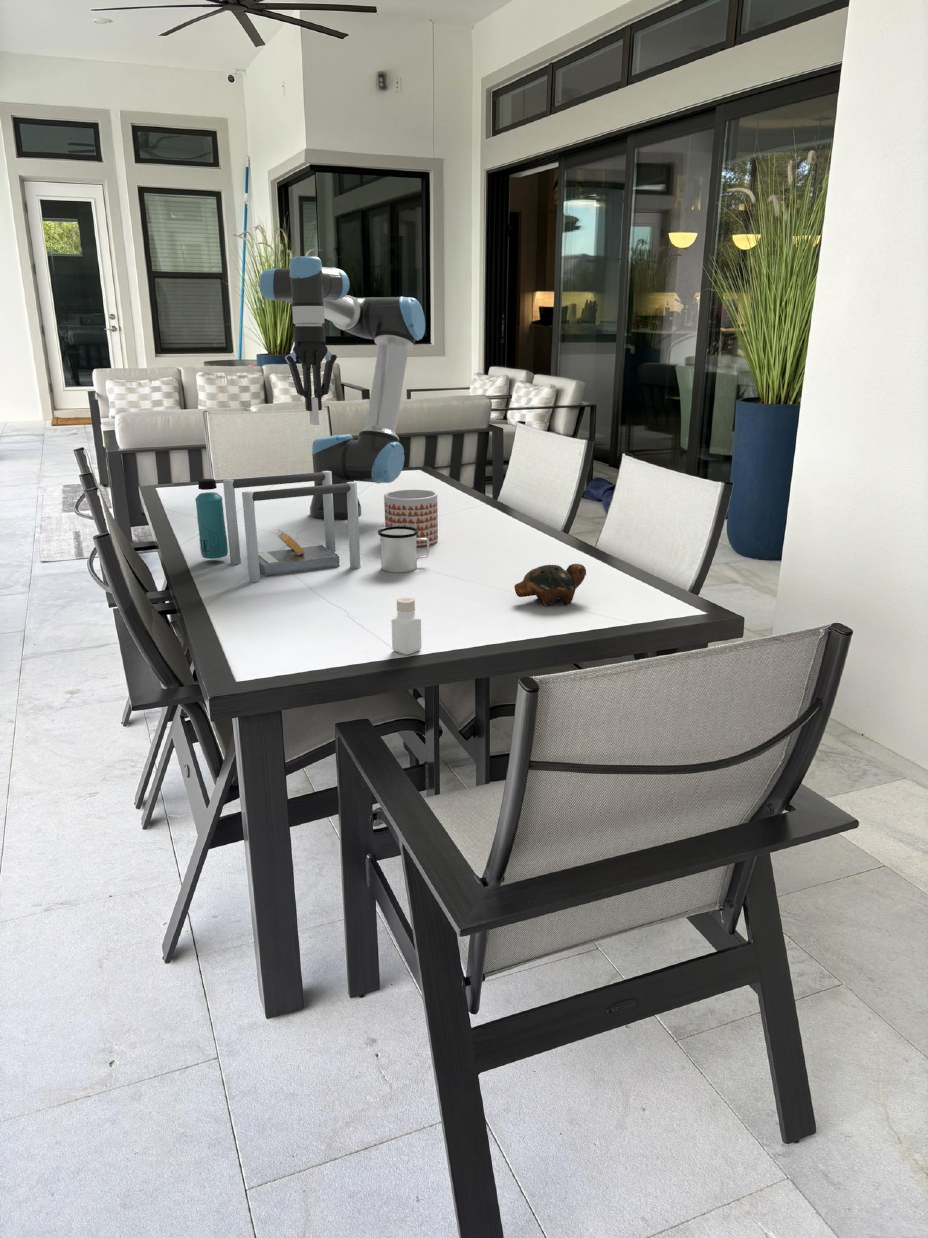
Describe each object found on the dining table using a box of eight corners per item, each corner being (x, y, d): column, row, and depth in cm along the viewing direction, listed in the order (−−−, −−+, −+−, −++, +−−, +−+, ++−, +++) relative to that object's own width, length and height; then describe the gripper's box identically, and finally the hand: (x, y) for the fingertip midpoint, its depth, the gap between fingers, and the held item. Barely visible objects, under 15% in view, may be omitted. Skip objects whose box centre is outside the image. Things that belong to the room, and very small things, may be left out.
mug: (383, 575, 204) (382, 536, 201) (375, 564, 213) (374, 527, 210) (434, 570, 207) (433, 532, 205) (424, 560, 216) (423, 524, 213)
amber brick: (302, 549, 214) (286, 533, 211) (306, 552, 211) (289, 536, 208) (297, 554, 214) (281, 538, 211) (301, 557, 211) (285, 541, 208)
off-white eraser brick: (295, 544, 218) (279, 528, 215) (299, 547, 216) (283, 531, 213) (290, 549, 218) (274, 533, 215) (294, 552, 216) (278, 536, 213)
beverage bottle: (234, 559, 218) (227, 477, 211) (218, 566, 212) (210, 482, 206) (211, 557, 220) (203, 476, 213) (195, 563, 214) (186, 480, 208)
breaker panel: (322, 554, 222) (322, 543, 221) (339, 566, 212) (339, 554, 211) (250, 564, 214) (250, 552, 213) (265, 576, 204) (264, 564, 203)
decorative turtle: (594, 604, 183) (594, 567, 180) (525, 616, 180) (523, 579, 176) (575, 588, 192) (575, 553, 189) (509, 599, 188) (507, 564, 185)
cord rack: (333, 549, 226) (329, 470, 220) (362, 567, 210) (358, 483, 204) (229, 562, 215) (221, 479, 208) (251, 583, 199) (243, 493, 192)
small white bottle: (406, 656, 156) (405, 604, 153) (391, 651, 158) (389, 600, 155) (422, 650, 159) (421, 599, 156) (407, 645, 161) (405, 594, 158)
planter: (446, 538, 237) (446, 491, 233) (423, 550, 225) (422, 500, 221) (401, 533, 242) (400, 487, 238) (376, 545, 231) (374, 496, 227)
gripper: (329, 324, 222) (334, 421, 230) (278, 325, 216) (284, 424, 224) (339, 324, 216) (344, 424, 224) (287, 325, 210) (294, 427, 218)
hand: (314, 424), depth 224 cm, fingers closed
